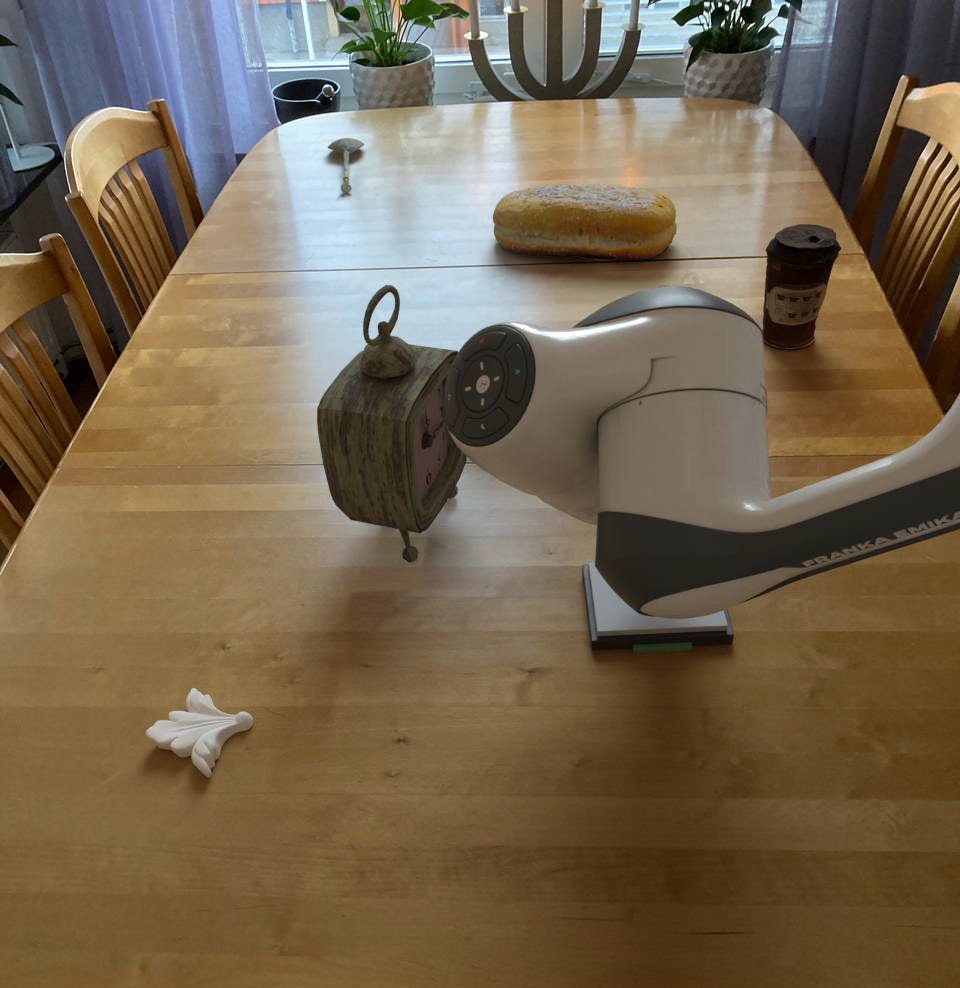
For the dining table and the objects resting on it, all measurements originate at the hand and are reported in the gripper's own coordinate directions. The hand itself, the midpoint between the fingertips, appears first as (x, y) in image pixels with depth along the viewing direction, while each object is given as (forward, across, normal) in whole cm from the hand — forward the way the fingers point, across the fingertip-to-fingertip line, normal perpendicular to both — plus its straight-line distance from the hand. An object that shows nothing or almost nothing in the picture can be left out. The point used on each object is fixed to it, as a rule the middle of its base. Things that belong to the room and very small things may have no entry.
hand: (668, 503), depth 81 cm
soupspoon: (+51, -105, +33) cm, 122 cm away
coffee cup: (+46, -16, +27) cm, 55 cm away
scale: (+9, 0, -10) cm, 13 cm away
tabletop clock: (+6, -28, -12) cm, 31 cm away
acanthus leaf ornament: (-15, -22, -34) cm, 43 cm away
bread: (+50, -53, +32) cm, 80 cm away
